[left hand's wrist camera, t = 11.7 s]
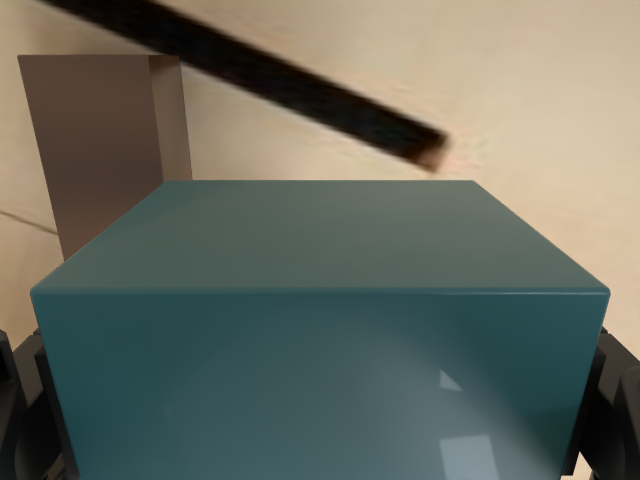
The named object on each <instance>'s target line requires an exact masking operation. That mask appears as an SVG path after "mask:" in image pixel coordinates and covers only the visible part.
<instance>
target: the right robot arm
mask: <svg viewBox="0 0 640 480" xmlns="http://www.w3.org/2000/svg"><path fill="white" fill-rule="evenodd" d="M49 475H50V478H51V480H80V478H79V476H68V475H67V471H66V468H65V464H64V461H63V457H62V454H60V455H59V457H58V458H57V460H56V461H55V463H54V464H53V466H52V467H51V469H50V470H49Z"/></svg>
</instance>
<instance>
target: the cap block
mask: <svg viewBox="0 0 640 480" xmlns="http://www.w3.org/2000/svg"><path fill="white" fill-rule="evenodd" d="M30 296H31V300H32V304H33V307H34V311H35V315H36V319H37V322H38V326H39V330H40V333H41V337H42V341H43V344H44V348H45V352H46V356H47V359H48V363H49V367H50V370H51V374H52V378H53V381H54V385H55V389H56V393H57V396H58V400H59V404H60V407H61V411H62V415H63V418H64V422H65V426H66V430H67V433H68V437H69V441H70V444H71V448H72V452H73V455H74V459H75V463H76V467H77V470H78V474H79V478H80V480H560V479H561V475H562V472H563V468H564V464H565V461H566V457H567V453H568V449H569V446H570V442H571V438H572V435H573V431H574V427H575V424H576V420H577V416H578V413H579V409H580V405H581V402H582V398H583V394H584V390H585V387H586V383H587V379H588V376H589V372H590V368H591V365H592V361H593V357H594V354H595V350H596V346H597V343H598V339H599V335H600V331H601V328H602V324H603V320H604V317H605V313H606V309H607V306H608V302H609V298H610V290H609V288H608V287H607V286H605V285H604V284H603V283H602V282H600V281H599V280H598V279H597V278H595V277H594V276H593V275H592V274H590V273H589V272H588V271H587V270H585V269H584V268H583V267H582V266H580V265H579V264H578V263H577V262H575V261H574V260H573V259H572V258H570V257H569V256H568V255H566V254H565V253H564V252H563V251H561V250H560V249H559V248H558V247H556V246H555V245H554V244H553V243H551V242H550V241H549V240H548V239H546V238H545V237H544V236H543V235H541V234H540V233H539V232H538V231H536V230H535V229H534V228H533V227H531V226H530V225H529V224H528V223H526V222H525V221H524V220H523V219H521V218H520V217H519V216H517V215H516V214H515V213H514V212H512V211H511V210H510V209H509V208H507V207H506V206H505V205H504V204H502V203H501V202H500V201H499V200H497V199H496V198H495V197H494V196H492V195H491V194H490V193H489V192H487V191H486V190H485V189H484V188H482V187H481V186H480V185H479V184H477V183H476V182H475V181H472V180H168V181H166V182H164V183H163V184H162V185H160V186H159V187H158V188H157V189H155V190H154V191H153V192H152V193H150V194H149V195H148V196H147V197H145V198H144V199H143V200H142V201H140V202H139V203H138V204H137V205H135V206H134V207H133V208H132V209H130V210H129V211H128V212H127V213H125V214H124V215H123V216H122V217H120V218H119V219H118V220H116V221H115V222H114V223H113V224H111V225H110V226H109V227H108V228H106V229H105V230H104V231H103V232H101V233H100V234H99V235H98V236H96V237H95V238H94V239H93V240H91V241H90V242H89V243H88V244H86V245H85V246H84V247H83V248H81V249H80V250H79V251H78V252H76V253H75V254H74V255H73V256H71V257H70V258H69V259H67V260H66V261H65V262H64V263H62V264H61V265H60V266H59V267H57V268H56V269H55V270H54V271H52V272H51V273H50V274H49V275H47V276H46V277H45V278H44V279H42V280H41V281H40V282H39V283H37V284H36V285H35V286H34V287H32V288H31V290H30Z"/></svg>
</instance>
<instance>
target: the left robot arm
mask: <svg viewBox="0 0 640 480" xmlns="http://www.w3.org/2000/svg"><path fill="white" fill-rule="evenodd" d="M579 451H580V452H581V454H582V455H583V457H584V458H585V460H586V461H587V463H588V464H589V466H590V467H591V469H592V472H591V475H590V478H589V480H640V361H639V360H638V359H637V358H636V357H635V356H633V355H632V354H631V353H630V352H629V351H628V350H627V349H626V348H625V347H624V346H623V345H622V344H621V343H620V342H619V341H618V340H617V339H616V338H615V337H613V336H612V335H611V334H608V331H607V330H606V329H605V328H604V327H603V326H602V328H601V331H600V335H599V339H598V343H597V346H596V350H595V354H594V357H593V361H592V365H591V368H590V372H589V376H588V379H587V383H586V387H585V390H584V394H583V398H582V402H581V405H580V409H579V413H578V416H577V420H576V424H575V427H574V431H573V435H572V438H571V442H570V446H569V449H568V453H567V457H566V461H565V464H564V468H563V472H562V475H561V476H573V473H574V469H575V466H576V462H577V458H578V455H579ZM60 454H62V457H63V461H64V464H65V468H66V471H67V475H68V476H79V474H78V470H77V467H76V463H75V459H74V455H73V452H72V448H71V444H70V441H69V437H68V433H67V430H66V426H65V422H64V418H63V415H62V411H61V407H60V404H59V400H58V396H57V393H56V389H55V385H54V381H53V378H52V374H51V370H50V367H49V363H48V359H47V356H46V352H45V348H44V344H43V341H42V337H41V333H40V330H39V328H37V329H36V330H35V331H34V332H33V335H30V336H29V337H28V338H27V339H26V340H25V341H24V342H23V343H22V344H21V345H20V346H19V347H18V348H17V349H16V350H14V351H13V352H12V350H11V347H10V343H9V340H8V337H7V333H6V332H4V331H2V330H1V329H0V480H51V478H50V475H49V470H50V469H51V467H52V466H53V464H54V463H55V461H56V460H57V458H58V457H59V455H60Z"/></svg>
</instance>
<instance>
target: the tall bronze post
mask: <svg viewBox="0 0 640 480" xmlns="http://www.w3.org/2000/svg"><path fill="white" fill-rule="evenodd" d="M17 58H18V62H19V66H20V71H21V75H22V79H23V84H24V88H25V92H26V97H27V101H28V105H29V110H30V114H31V118H32V123H33V127H34V131H35V136H36V140H37V144H38V149H39V153H40V157H41V162H42V166H43V170H44V174H45V179H46V183H47V187H48V192H49V196H50V200H51V205H52V209H53V213H54V218H55V222H56V226H57V231H58V235H59V239H60V244H61V248H62V252H63V257H64V261H66V260H67V259H69V258H70V257H71V256H73V255H74V254H75V253H76V252H78V251H79V250H80V249H81V248H83V247H84V246H85V245H86V244H88V243H89V242H90V241H91V240H93V239H94V238H95V237H96V236H98V235H99V234H100V233H101V232H103V231H104V230H105V229H106V228H108V227H109V226H110V225H111V224H113V223H114V222H115V221H116V220H118V219H119V218H120V217H122V216H123V215H124V214H125V213H127V212H128V211H129V210H130V209H132V208H133V207H134V206H135V205H137V204H138V203H139V202H140V201H142V200H143V199H144V198H145V197H147V196H148V195H149V194H150V193H152V192H153V191H154V190H155V189H157V188H158V187H159V186H160V185H162V184H163V183H164V182H166V181H168V180H192V172H191V162H190V153H189V144H188V134H187V125H186V116H185V107H184V97H183V88H182V79H181V69H180V60H179V56H175V55H18V56H17Z"/></svg>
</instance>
